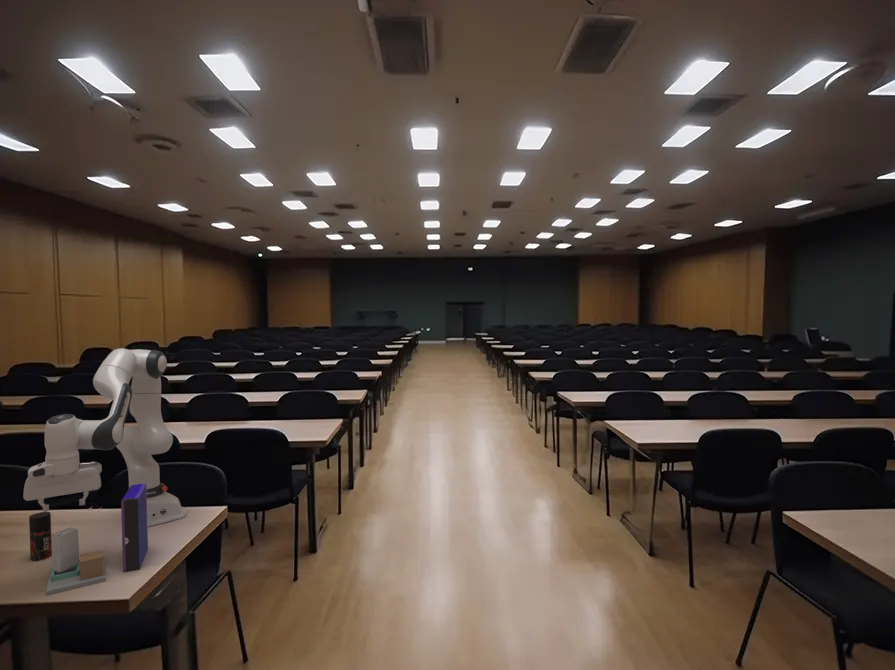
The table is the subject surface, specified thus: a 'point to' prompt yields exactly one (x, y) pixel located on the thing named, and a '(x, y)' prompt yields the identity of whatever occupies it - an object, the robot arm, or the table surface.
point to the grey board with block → (78, 574)
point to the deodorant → (40, 536)
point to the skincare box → (65, 549)
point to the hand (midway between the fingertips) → (64, 507)
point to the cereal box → (134, 527)
